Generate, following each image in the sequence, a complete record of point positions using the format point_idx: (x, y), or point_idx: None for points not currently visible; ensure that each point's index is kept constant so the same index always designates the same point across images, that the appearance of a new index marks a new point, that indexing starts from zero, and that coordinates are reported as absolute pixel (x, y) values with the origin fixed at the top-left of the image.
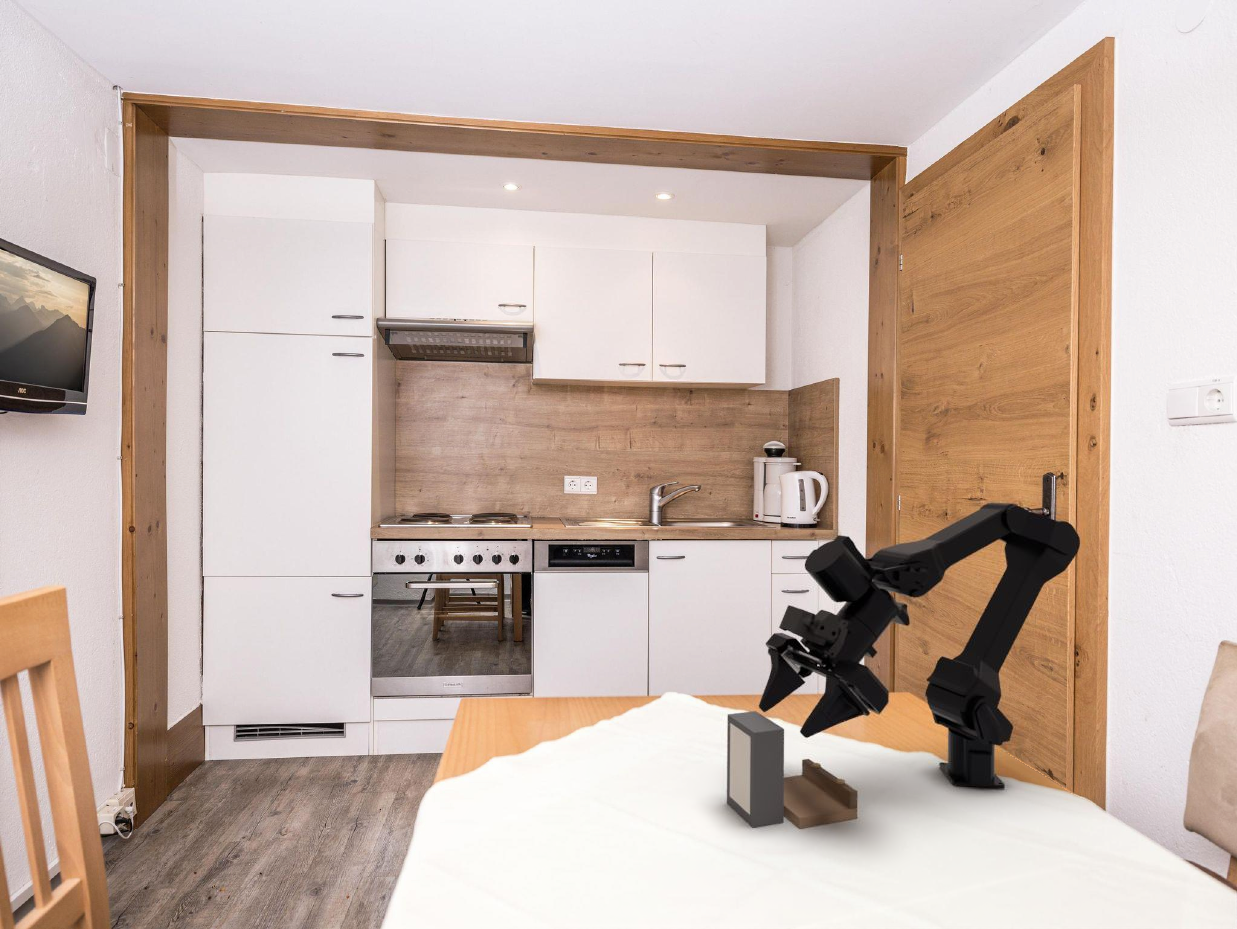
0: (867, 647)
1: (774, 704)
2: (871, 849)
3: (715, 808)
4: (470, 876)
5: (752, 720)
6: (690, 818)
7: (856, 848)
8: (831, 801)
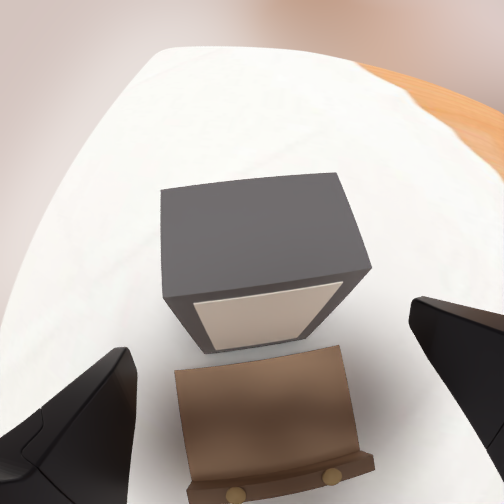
0: None
1: (433, 360)
2: None
3: None
4: (191, 62)
5: (272, 220)
6: None
7: None
8: (231, 464)
